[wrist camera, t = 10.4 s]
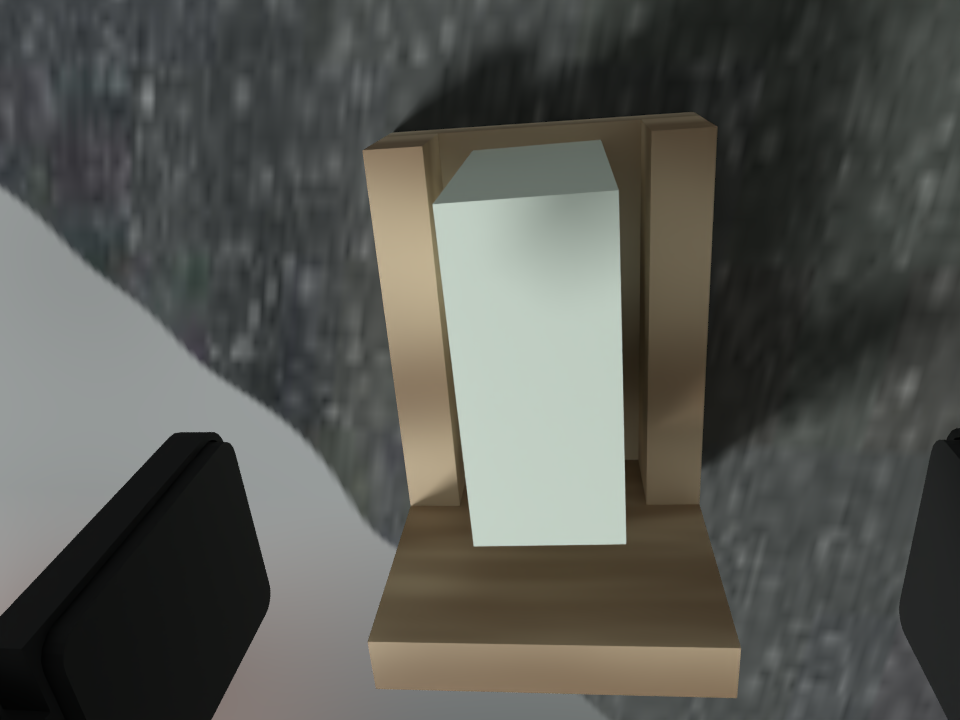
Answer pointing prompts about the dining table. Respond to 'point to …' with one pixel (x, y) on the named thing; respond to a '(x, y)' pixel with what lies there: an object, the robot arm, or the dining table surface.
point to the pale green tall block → (537, 342)
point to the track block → (647, 445)
